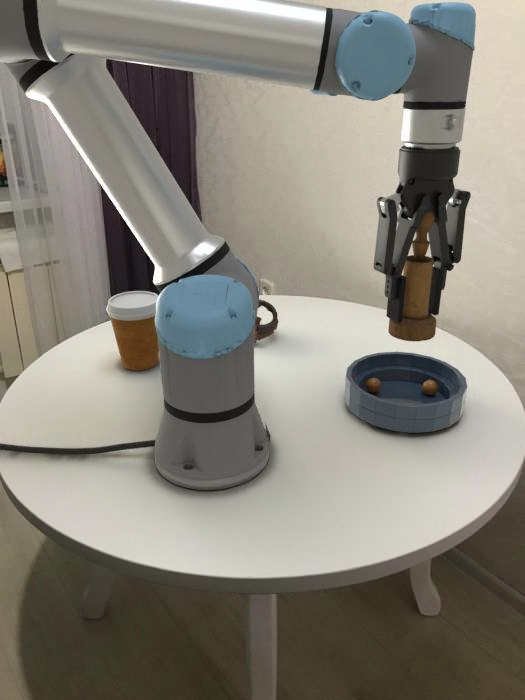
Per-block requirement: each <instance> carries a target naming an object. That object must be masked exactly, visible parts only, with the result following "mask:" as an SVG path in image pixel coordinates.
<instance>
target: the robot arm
mask: <svg viewBox="0 0 525 700" xmlns="http://www.w3.org/2000/svg"><path fill="white" fill-rule="evenodd" d="M409 17H410V18H409V19H408V21H407V22H408V23H407V22H405V20H403V19H402V18H401V17H400V16H398V15H396V14H394V13H392V12H388V11H383V10H377V9H372V10H369V11H365V12H362V11H354V10H349V9H344V8H343V9H342V8H335V7H334V8H332V7H327V6H325V5H319V4H318V5H317V4H313V3H305V2H300V1H294V0H293V1H292V0H0V63H3V64H5V66H6V68H7V69H8V71H9V72H10V73H11V75H12V76H13V78H14V79H15V82H17V84H18V85H19V87H20V88H21V89H22V91H23V93H24V94H25V95H26V96H27V98H29V99H32V100H36V101H38V102H39V101H40V102H43V103H44V104H46V105H47V106H48V107H49V110H51V112H52V113H53V115H54V116H55V118H56V119H57V121H58V122H59V124H60V125H61V127H62V128H63V130H64V131H65V133H66V134H67V136H68V138H69V139H70V140H71V142H72V144H73V145H74V147H75V148H76V150H77V151H78V152H79V154H80V155H81V157H82V158H83V160H84V161H85V163H86V164H87V166H88V167H89V169H90V171H91V172H92V173H93V175H94V176H95V178H96V179H97V181H98V183H99V184H100V185H101V187H102V188H103V190H104V191H105V193H106V194H107V196H108V198H109V199H110V200H111V202H112V203H113V205H114V206H115V208H116V210H117V211H118V212H119V214H120V215H121V217H122V218H123V220H124V221H125V222H126V224H127V226H128V227H129V229H130V230H131V232H132V233H133V235H134V236H135V238H136V239H137V241H138V242H139V244H140V245H141V247H142V248H143V250H144V252H145V253H146V254H147V256H148V257H149V259H150V260H151V261H152V263H153V264H154V274H153V280H152V282H153V284H154V286H155V287H156V289H157V290H158V291H159V294H158V296H159V297H158V299H157V302H156V314H155V326H156V333H157V336H158V347H159V367H160V378H161V388H162V396H163V411H162V415H161V419H160V423H159V426H158V430H157V433H156V437H155V439H151V440H142V441H132V442H124V443H117V444H111V445H103V446H96V447H76V448H75V447H47V446H30V445H29V446H28V445H16V444H9V443H1V442H0V451H6V452H13V453H14V452H16V453H26V454H43V455H60V456H61V455H62V456H63V455H64V456H65V455H66V456H67V455H68V456H69V455H70V456H73V455H74V456H77V455H79V456H80V455H81V456H83V455H98V454H107V453H112V452H119V451H126V450H134V449H144V448H153V454H154V464H155V467H156V469H157V471H158V473H159V474H160V475H161V476H162V477H163V478H165V479H166V480H167V481H169V482H170V483H173V484H174V485H176V486H180V487H182V488H186V489H190V490H199V491H215V490H223V489H229V488H232V487H236V486H239V485H241V484H244V483H247V482H249V481H250V480H252V479H253V478H255V477H256V476H258V475H259V474H260V473H261V472H262V471H263V470H264V469H265V468H266V466H267V463H268V462H269V458H270V444H272V443H271V440H272V439H271V437H272V436H271V435H272V434H271V433H270V431H269V428H268V426H267V423H266V422H265V423H263V422H264V421H263V420H262V417H261V414H260V413H259V410H258V407H257V404H256V396H255V395H256V394H255V392H256V391H255V343H254V338H255V329H256V328H257V326H256V319H257V317H258V311H259V310H258V309H259V308H258V306H259V299H260V292H259V289H258V288H259V285H258V283H257V281H256V278H255V276H254V274H253V272H252V271H251V270H250V268H249V266H248V265H246V263H244V262H243V261H242V260H240V259H239V258H238V257H236V256H235V253H233V251H232V249H231V248H230V246H229V244H228V243H227V241H226V239H225V238H224V237H223V236H220V235H215V234H213V233H212V234H211V233H209V232H208V231H207V230H206V228H205V226H204V225H203V223H202V220H200V217H198V214H197V213H196V211H195V209H193V207H192V205H191V203H190V201H189V200H188V198H187V197H186V195H185V194H184V192H183V191H182V189H181V187H180V185H179V184H178V182H177V181H176V179H175V177H174V175H173V174H172V172H171V170H170V169H169V167H168V166H167V164H166V163H165V161H164V159H163V158H162V156H161V155H160V153H159V151H158V150H157V148H156V147H155V145H154V143H153V141H152V139H151V138H150V136H149V135H148V134H147V131H146V130H145V129H144V127H143V125H142V124H141V121H140V120H139V118H138V117H137V115H136V114H135V112H134V110H133V109H132V108H131V105H130V104H129V102H128V101H127V99H126V98H125V96H124V94H123V93H122V91H121V90H120V87H119V86H118V85H117V83H116V81H115V80H114V78H113V77H112V75H111V73H110V72H109V69H108V67H107V60H112V61H118V62H124V63H125V62H126V63H133V64H140V65H146V66H152V67H159V68H164V69H165V68H166V69H172V70H179V71H186V72H192V73H198V74H205V75H212V76H219V77H226V78H232V79H238V80H245V81H252V82H258V83H264V84H272V85H277V86H278V85H279V86H285V87H292V88H298V89H304V90H309V92H310V93H312V94H313V95H322V96H330V97H337V96H346V97H354V98H355V99H358V100H362V101H370V102H375V101H381V100H383V99H386V98H387V97H389V96H391V95H398V94H401V95H403V104H402V115H401V123H400V134H399V140H400V141H401V142H402V143H403V144H404V145H402V146H401V147H400V148H399V151H398V161H397V162H398V163H397V173H398V174H397V175H398V179H399V181H398V185H397V187H396V189H395V193H393V194H391V195H389V196H387V197H384V196H378V197H377V199H376V208H377V211H378V222H377V230H376V239H375V249H374V258H373V269H374V271H377V272H379V273H380V274H383V275H385V280H384V282H385V283H384V297H386V298H387V304H386V317H387V318H389V319H392V320H394V321H396V322H397V323H399V322H402V319H403V308H404V298H405V288H406V277H405V276H403V271H404V266H405V263H406V260H407V257H408V256H409V255H410V254H409V253H410V250H411V248H412V241H413V240H414V239H415V235H416V230H417V229H418V228H419V227H420V225H421V222H422V219H423V216H424V214H425V213H427V212H432V213H433V214H434V215H435V222H434V224H433V226H432V227H431V229H430V230H429V231H428V233H427V236H428V241H429V242H430V243H429V249H430V257H431V258H432V259H433V260H434V261H433V269H432V277H431V286H430V296H429V306H428V312H429V313H431V314H432V316H438V315H439V314H440V306H441V299H442V291H445V288H446V282H447V274H448V272H451V271H453V269H454V267H455V264H459V263H461V260H462V253H463V242H464V232H465V223H466V211H467V207H468V204H469V202H470V199H471V198H472V197H471V196H472V194H471V192H470V191H468V190H463V189H460V188H456V187H455V184H454V179H455V178H456V177H457V176H458V173H459V167H460V159H461V151H462V150H461V149H460V147H459V146H457V144H459V143H460V142H462V141H463V135H464V134H463V133H464V126H465V125H464V124H465V118H466V117H465V116H466V107H467V97H468V90H469V83H470V76H471V70H472V63H473V56H474V51H475V48H476V47H475V37H476V26H477V25H476V23H477V22H476V19H477V14H476V11H475V8H474V7H473V6H472V5H471V4H469V3H466V2H457V1H447V2H430V3H422V4H417V5H415V6H414V7H412V9H411V11H410V16H409ZM399 206H400V207H399ZM411 219H412V220H411ZM264 424H265V425H264Z"/></svg>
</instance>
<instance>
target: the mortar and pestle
mask: <svg viewBox="0 0 525 700" xmlns="http://www.w3.org/2000/svg"><path fill="white" fill-rule="evenodd" d="M410 220H412V219H410ZM434 222H435V215H434V214H433V213H432V212H427V213H425V214H424V216H423V219H422V222H421V225H420V227H419V228H418V229H417V230H416V232H415V235H416V236H415V237H414V239H413V241H412V245H411V248H412V253H413V254H412V255H411V254H410V255H408V257H407V260H406V263H405V266H404V269H403V272H402V275H403V276H405V277H406V288H405V298H404V308H403V319H402V322H399V323H397V322H396V321H394V320H392V319H390V318H389V322H388V334H389V335H390V336H391V337H393V338H395V339H397V340H401V341H405V342H423V341H429V340H431V339H433V338H434V337H436V330H437V318H436V317H435V315H433V314H431V313H429V312H428V306H429V296H430V286H431V277H432V269H433V267H434V265H433V261H434V260H433V259H432V257H431V256H427V252H428V250H429V248H430V242H429V239H428V231H429V230H430V229H431V227H432V226H433V224H434Z"/></svg>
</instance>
